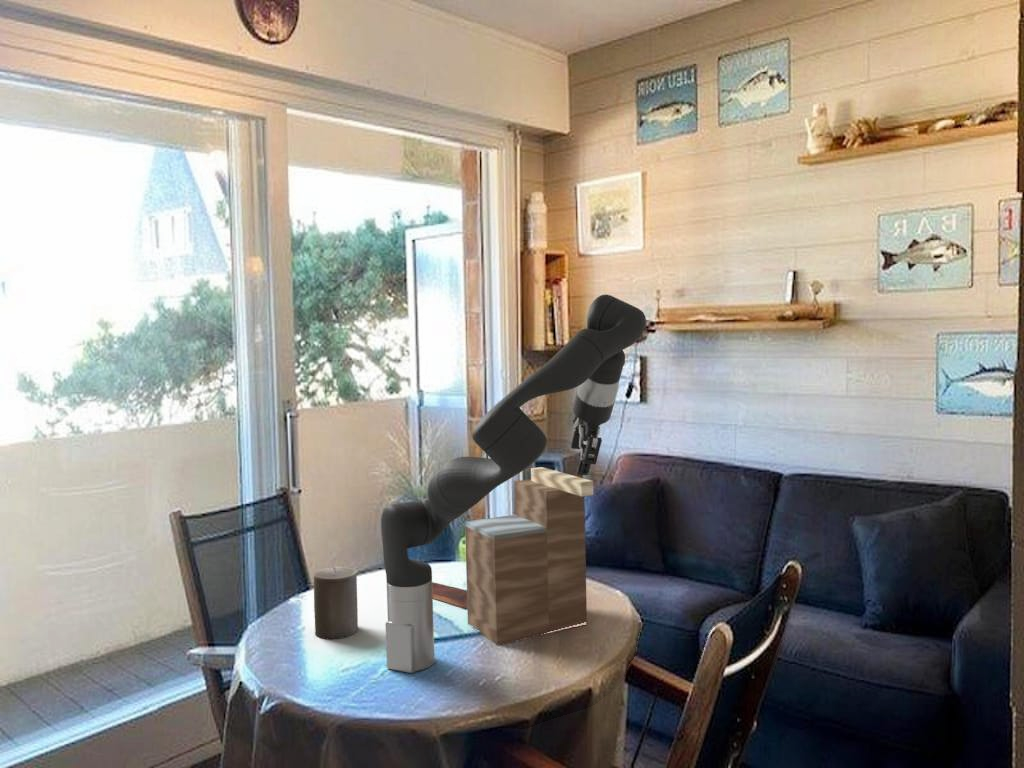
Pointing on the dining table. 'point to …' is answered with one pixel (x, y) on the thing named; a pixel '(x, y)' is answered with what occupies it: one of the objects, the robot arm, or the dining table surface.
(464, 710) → the dining table surface
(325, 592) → the pillar candle
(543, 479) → the maple rod
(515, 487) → the block
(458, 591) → the wooden tablet
